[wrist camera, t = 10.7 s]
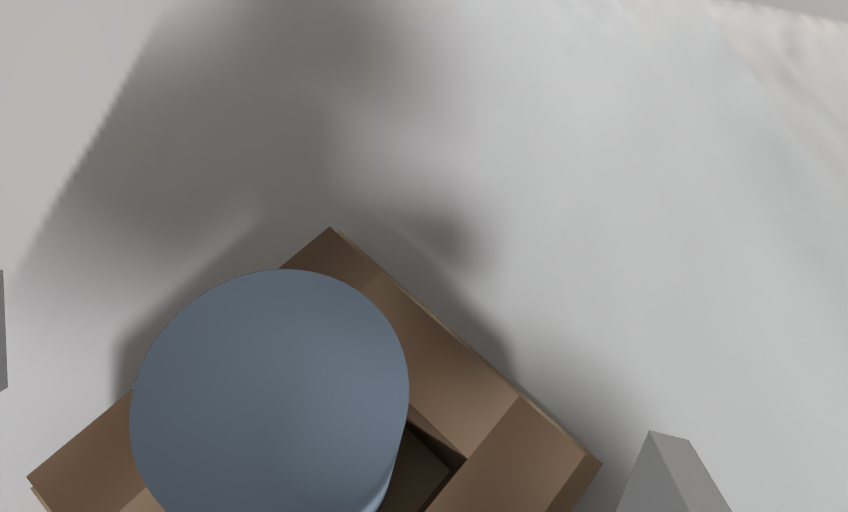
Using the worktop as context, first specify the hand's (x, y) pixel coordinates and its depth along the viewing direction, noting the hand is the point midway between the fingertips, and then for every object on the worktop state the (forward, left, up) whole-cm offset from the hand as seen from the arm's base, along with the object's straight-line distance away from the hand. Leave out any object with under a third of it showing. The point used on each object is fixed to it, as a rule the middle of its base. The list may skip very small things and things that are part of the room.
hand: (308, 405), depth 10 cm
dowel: (0, +1, -9) cm, 9 cm away
